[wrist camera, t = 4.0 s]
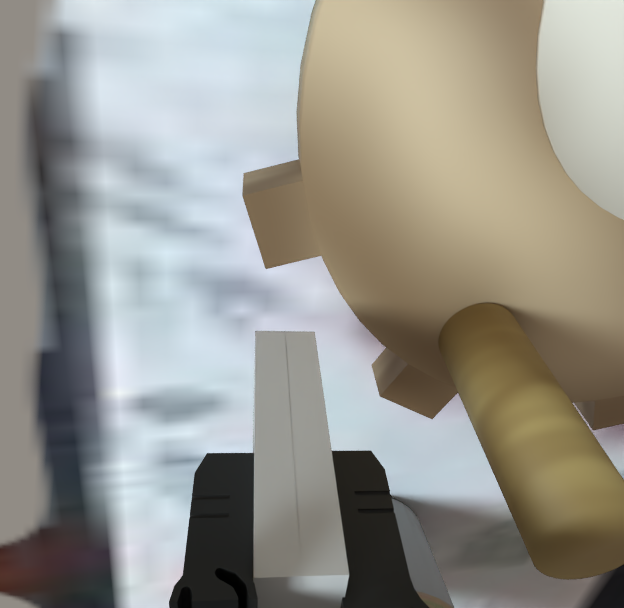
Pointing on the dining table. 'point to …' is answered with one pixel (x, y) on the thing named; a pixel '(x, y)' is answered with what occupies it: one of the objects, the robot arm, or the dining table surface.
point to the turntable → (476, 232)
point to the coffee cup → (420, 559)
